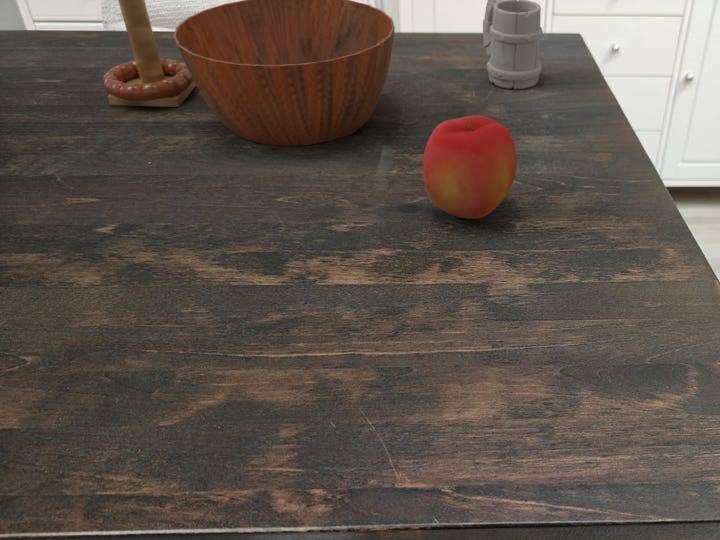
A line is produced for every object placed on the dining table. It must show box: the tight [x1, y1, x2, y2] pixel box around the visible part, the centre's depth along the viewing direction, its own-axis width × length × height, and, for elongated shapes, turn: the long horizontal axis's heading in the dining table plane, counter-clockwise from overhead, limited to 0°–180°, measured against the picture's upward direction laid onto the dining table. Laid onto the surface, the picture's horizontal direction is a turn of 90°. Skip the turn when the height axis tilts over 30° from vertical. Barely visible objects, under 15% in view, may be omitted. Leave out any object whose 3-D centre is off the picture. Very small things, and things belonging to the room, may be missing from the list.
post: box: [107, 0, 197, 108], centre depth 94 cm, size 9×9×16 cm
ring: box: [102, 58, 193, 101], centre depth 98 cm, size 11×11×2 cm
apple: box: [422, 115, 518, 220], centre depth 74 cm, size 10×10×10 cm
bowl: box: [172, 0, 396, 147], centre depth 90 cm, size 25×25×11 cm
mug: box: [482, 0, 544, 90], centre depth 103 cm, size 8×12×12 cm, turn 31°
